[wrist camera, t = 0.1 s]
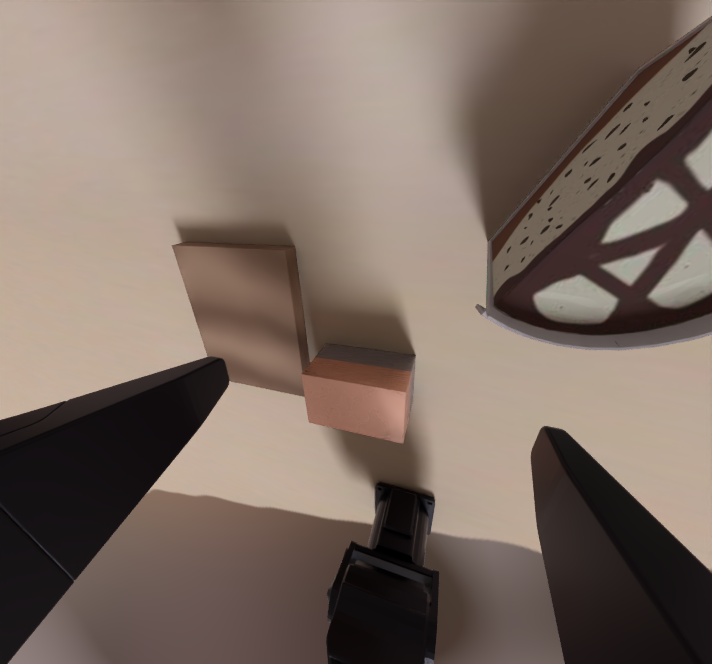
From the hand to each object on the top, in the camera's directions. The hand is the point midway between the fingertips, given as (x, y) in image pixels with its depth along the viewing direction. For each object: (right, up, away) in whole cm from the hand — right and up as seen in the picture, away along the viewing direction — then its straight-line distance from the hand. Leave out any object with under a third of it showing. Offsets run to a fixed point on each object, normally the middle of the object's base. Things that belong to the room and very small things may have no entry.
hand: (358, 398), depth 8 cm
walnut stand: (-10, +3, +19) cm, 22 cm away
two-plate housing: (+1, -2, +18) cm, 18 cm away
